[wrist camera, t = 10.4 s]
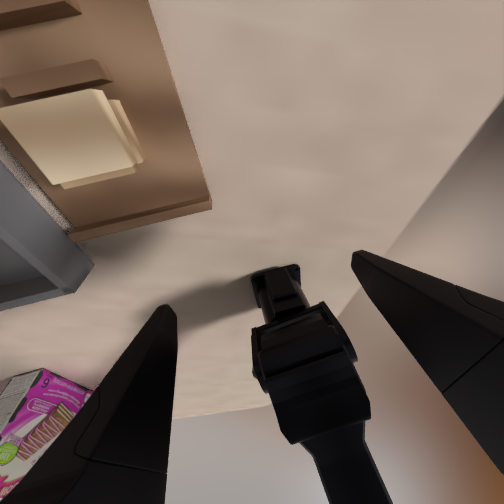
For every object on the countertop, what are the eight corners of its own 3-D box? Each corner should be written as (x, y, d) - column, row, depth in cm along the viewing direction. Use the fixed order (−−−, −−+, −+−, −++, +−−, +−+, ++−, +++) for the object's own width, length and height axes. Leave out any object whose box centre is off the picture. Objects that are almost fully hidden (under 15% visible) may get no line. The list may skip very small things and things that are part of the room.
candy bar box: (97, 390, 36) (34, 553, 23) (71, 398, 36) (-8, 565, 23) (44, 365, 29) (-91, 578, 16) (11, 375, 29) (-151, 596, 16)
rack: (211, 200, 19) (212, 211, 17) (85, 230, 18) (71, 245, 16) (106, -129, 9) (78, -196, 7) (-169, -80, 9) (-284, -136, 7)
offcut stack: (152, 161, 15) (136, 177, 12) (85, 177, 15) (50, 197, 12) (121, 93, 13) (90, 88, 9) (39, 111, 13) (-21, 112, 9)
